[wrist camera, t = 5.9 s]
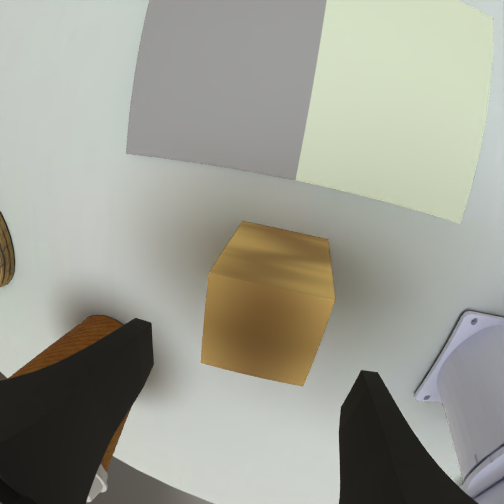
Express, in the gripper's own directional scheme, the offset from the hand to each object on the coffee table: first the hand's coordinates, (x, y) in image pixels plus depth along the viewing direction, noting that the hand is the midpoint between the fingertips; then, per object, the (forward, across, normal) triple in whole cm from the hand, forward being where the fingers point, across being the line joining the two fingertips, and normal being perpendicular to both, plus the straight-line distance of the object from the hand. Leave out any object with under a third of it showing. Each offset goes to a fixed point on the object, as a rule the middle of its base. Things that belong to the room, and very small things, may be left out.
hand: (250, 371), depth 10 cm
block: (+8, 0, 0) cm, 8 cm away
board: (+8, 0, -11) cm, 14 cm away
